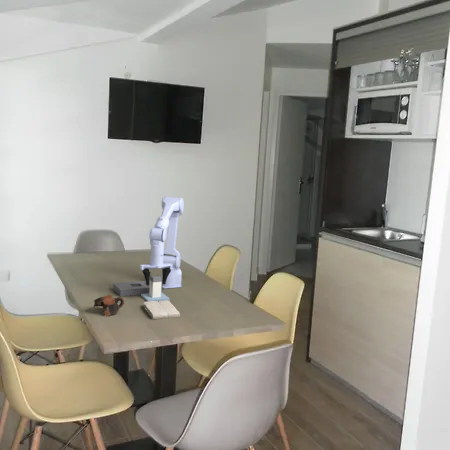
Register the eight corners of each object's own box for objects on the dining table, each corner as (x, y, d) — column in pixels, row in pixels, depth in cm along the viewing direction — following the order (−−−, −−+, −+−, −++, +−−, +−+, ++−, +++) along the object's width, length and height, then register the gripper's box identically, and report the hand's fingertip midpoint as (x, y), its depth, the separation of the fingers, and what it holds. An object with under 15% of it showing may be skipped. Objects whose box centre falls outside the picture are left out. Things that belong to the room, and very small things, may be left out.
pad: (161, 294, 229) (161, 292, 229) (169, 300, 220) (169, 298, 220) (141, 296, 224) (141, 293, 224) (148, 302, 216) (148, 300, 216)
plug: (157, 294, 225) (158, 275, 224) (160, 296, 222) (161, 277, 220) (149, 295, 223) (150, 275, 222) (152, 297, 220) (153, 278, 218)
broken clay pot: (98, 319, 193) (92, 299, 195) (97, 321, 202) (91, 302, 203) (128, 309, 197) (122, 289, 199) (125, 312, 206) (119, 293, 208)
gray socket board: (153, 286, 242) (153, 280, 241) (162, 292, 231) (162, 286, 231) (113, 289, 232) (113, 282, 232) (120, 296, 222) (120, 289, 222)
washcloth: (168, 305, 216) (168, 298, 215) (181, 318, 199) (181, 311, 199) (141, 307, 211) (141, 300, 210) (152, 321, 195) (152, 313, 194)
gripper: (144, 257, 213) (143, 288, 215) (175, 256, 219) (174, 285, 221) (139, 254, 219) (138, 283, 221) (169, 252, 226) (168, 281, 228)
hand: (155, 284), depth 221 cm, fingers open, 7 cm apart
